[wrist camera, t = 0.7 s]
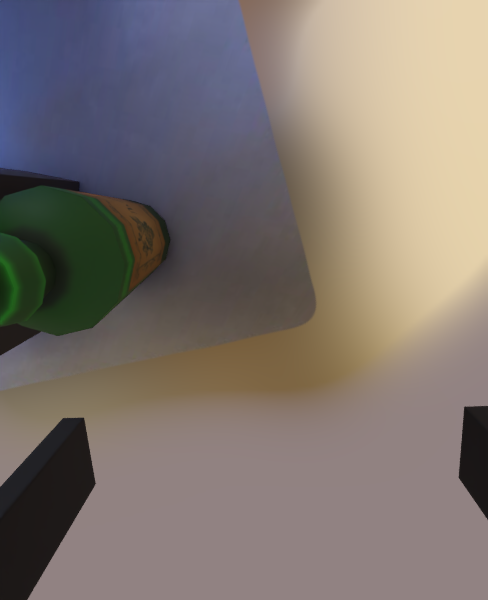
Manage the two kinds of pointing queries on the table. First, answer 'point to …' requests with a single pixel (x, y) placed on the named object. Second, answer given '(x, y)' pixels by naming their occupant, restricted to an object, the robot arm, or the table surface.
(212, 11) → the table surface
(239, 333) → the table surface
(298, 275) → the table surface
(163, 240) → the bottle
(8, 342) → the coffee maker
